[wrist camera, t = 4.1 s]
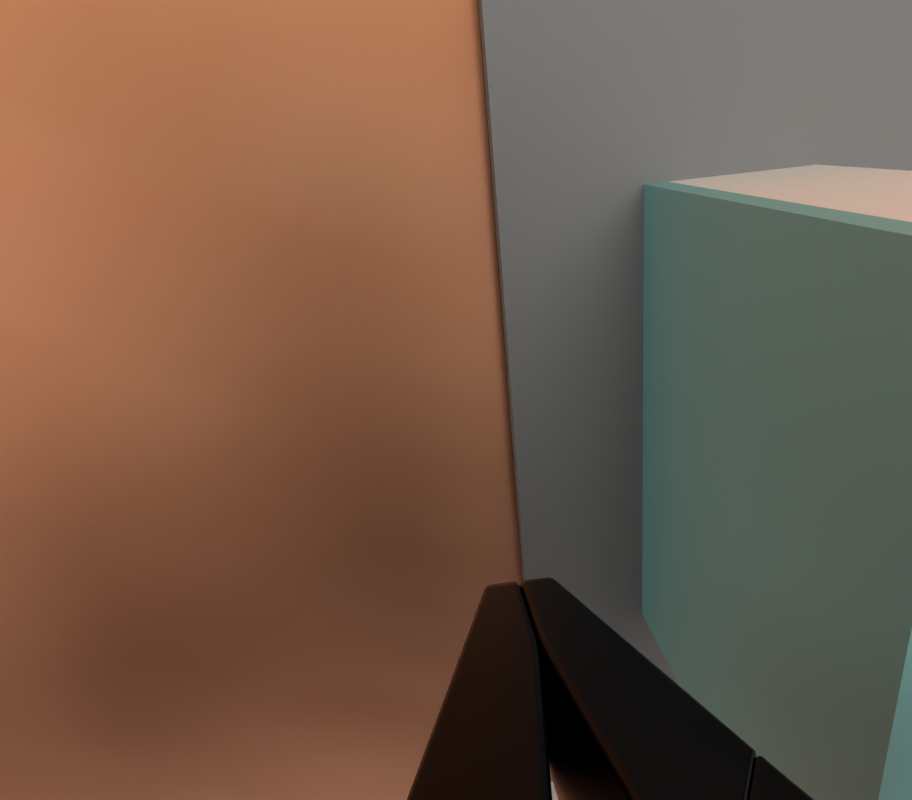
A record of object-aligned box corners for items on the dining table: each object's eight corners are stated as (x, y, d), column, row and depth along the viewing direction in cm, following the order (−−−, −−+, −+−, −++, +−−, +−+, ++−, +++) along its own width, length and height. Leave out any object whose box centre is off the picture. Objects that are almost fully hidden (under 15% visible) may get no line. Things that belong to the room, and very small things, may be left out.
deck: (642, 613, 15) (839, 997, 8) (643, 184, 11) (984, 248, 5) (775, 594, 15) (1075, 957, 8) (817, 164, 11) (1382, 201, 5)
